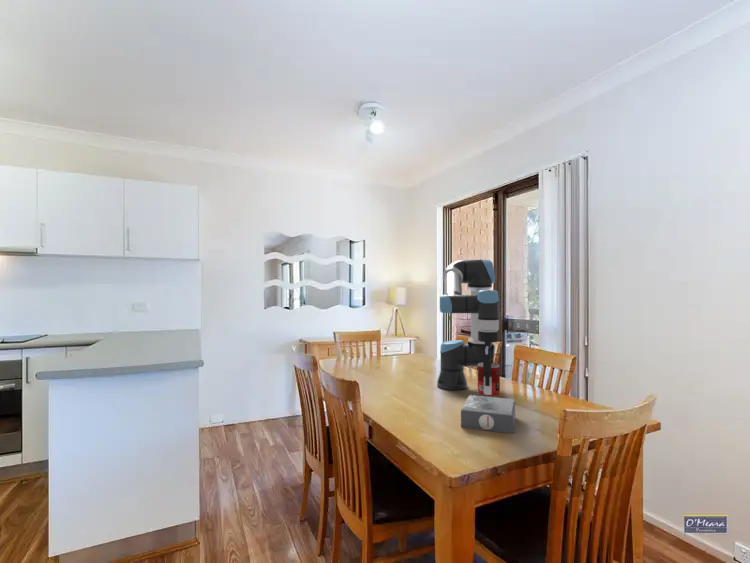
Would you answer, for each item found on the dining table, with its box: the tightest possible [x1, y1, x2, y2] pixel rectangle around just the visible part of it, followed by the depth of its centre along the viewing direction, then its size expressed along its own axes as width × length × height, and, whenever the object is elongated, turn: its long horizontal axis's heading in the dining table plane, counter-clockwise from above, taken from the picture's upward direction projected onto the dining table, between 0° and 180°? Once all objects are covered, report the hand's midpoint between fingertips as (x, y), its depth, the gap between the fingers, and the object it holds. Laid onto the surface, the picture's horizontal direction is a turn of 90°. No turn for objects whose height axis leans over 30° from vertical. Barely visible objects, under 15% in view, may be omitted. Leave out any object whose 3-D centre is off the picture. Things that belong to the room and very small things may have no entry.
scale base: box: [460, 401, 516, 435], centre depth 147 cm, size 19×18×6 cm
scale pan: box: [461, 394, 515, 416], centre depth 148 cm, size 17×17×1 cm
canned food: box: [477, 362, 501, 397], centre depth 148 cm, size 8×8×11 cm
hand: (488, 391), depth 148 cm, fingers closed on canned food, 8 cm apart
